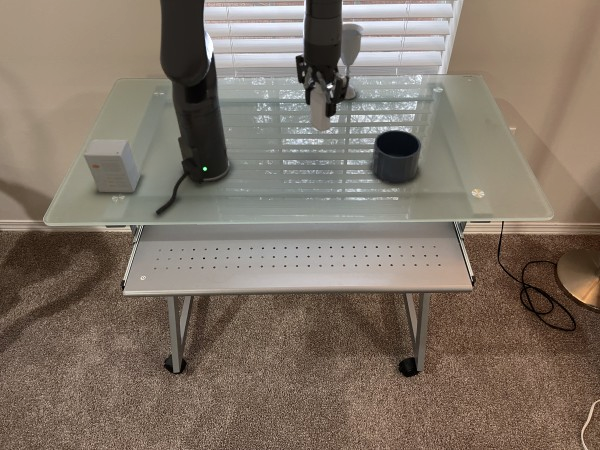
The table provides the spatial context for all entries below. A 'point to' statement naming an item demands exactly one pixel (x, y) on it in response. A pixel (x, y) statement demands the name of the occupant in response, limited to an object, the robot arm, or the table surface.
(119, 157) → the small box
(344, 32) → the chalice
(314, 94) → the eye dropper bottle
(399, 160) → the dark blue round container
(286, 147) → the table surface
